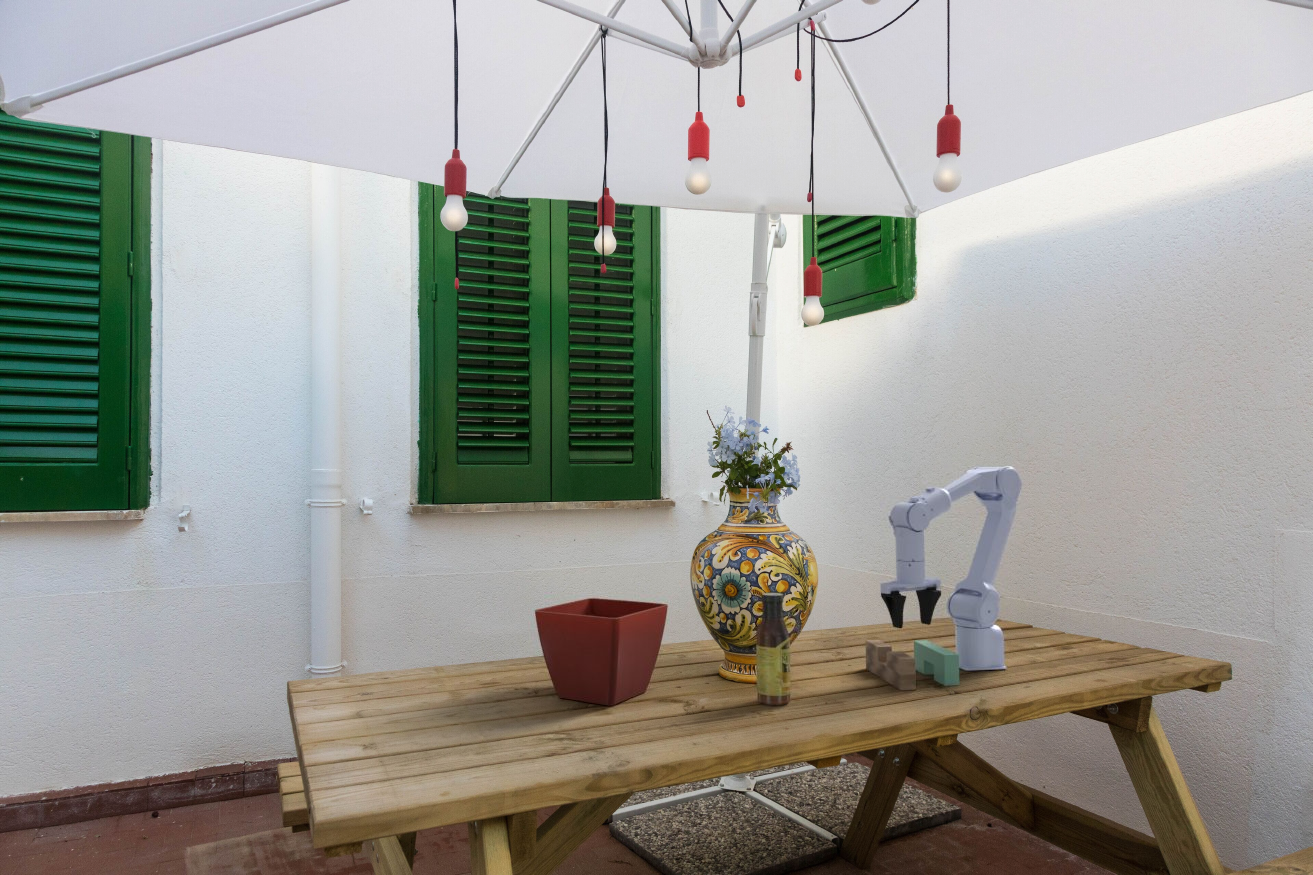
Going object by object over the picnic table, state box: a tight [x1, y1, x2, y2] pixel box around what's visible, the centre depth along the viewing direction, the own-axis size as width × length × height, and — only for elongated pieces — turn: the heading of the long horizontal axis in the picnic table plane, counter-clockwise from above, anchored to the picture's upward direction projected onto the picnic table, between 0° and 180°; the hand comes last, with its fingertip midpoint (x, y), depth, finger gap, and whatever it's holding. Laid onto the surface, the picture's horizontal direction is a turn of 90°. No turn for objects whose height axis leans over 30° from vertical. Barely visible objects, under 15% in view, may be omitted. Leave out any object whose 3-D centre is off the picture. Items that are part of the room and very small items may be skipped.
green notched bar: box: [913, 639, 960, 687], centre depth 174 cm, size 14×3×6 cm, turn 8°
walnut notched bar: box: [865, 639, 917, 691], centre depth 172 cm, size 18×3×6 cm, turn 8°
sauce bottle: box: [755, 592, 792, 706], centre depth 156 cm, size 6×6×20 cm
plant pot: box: [534, 597, 669, 706], centre depth 162 cm, size 19×19×17 cm
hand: (911, 625), depth 175 cm, fingers open, 7 cm apart
